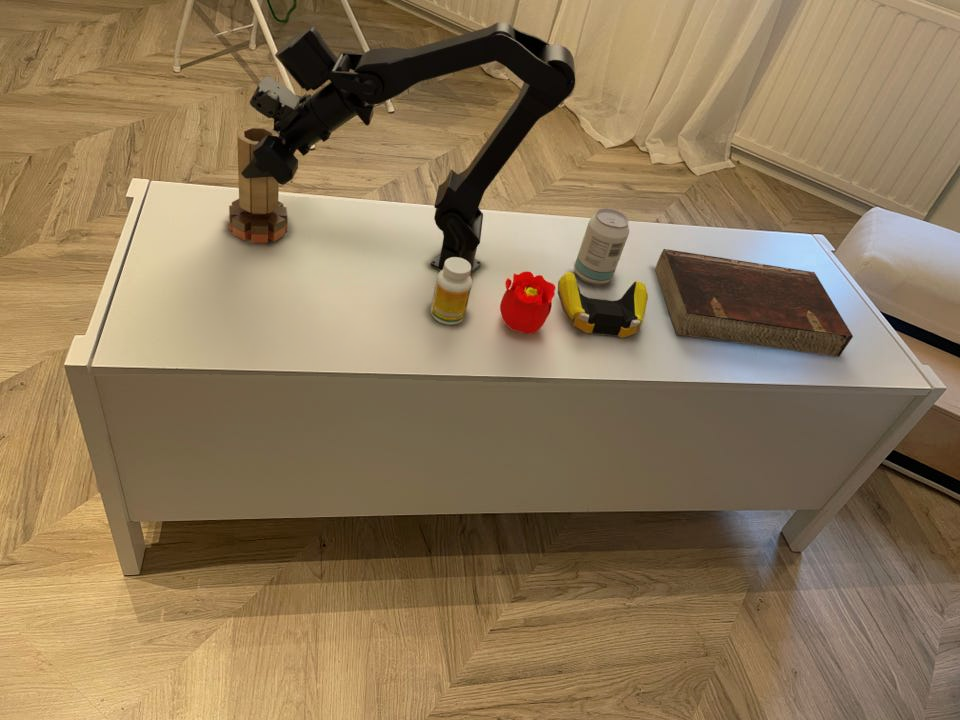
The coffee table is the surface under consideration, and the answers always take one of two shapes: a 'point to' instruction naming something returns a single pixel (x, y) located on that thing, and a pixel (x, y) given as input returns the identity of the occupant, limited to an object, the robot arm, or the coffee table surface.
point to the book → (750, 303)
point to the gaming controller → (603, 309)
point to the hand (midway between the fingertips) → (249, 165)
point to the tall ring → (255, 191)
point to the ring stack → (258, 223)
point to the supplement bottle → (452, 291)
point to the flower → (527, 302)
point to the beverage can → (602, 246)
